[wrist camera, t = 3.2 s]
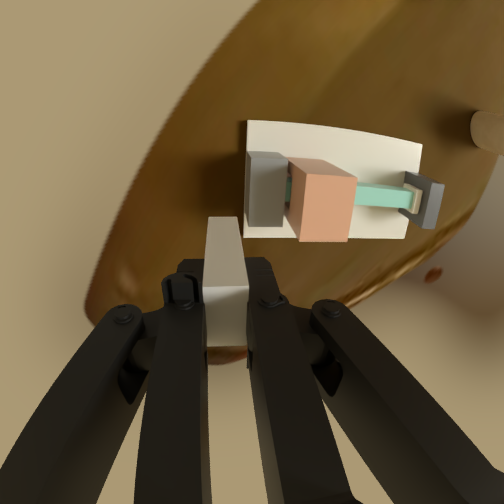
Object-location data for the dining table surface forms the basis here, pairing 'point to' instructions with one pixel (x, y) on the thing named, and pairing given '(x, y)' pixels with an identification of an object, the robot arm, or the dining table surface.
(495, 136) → the candle
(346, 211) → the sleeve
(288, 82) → the dining table surface
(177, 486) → the robot arm
